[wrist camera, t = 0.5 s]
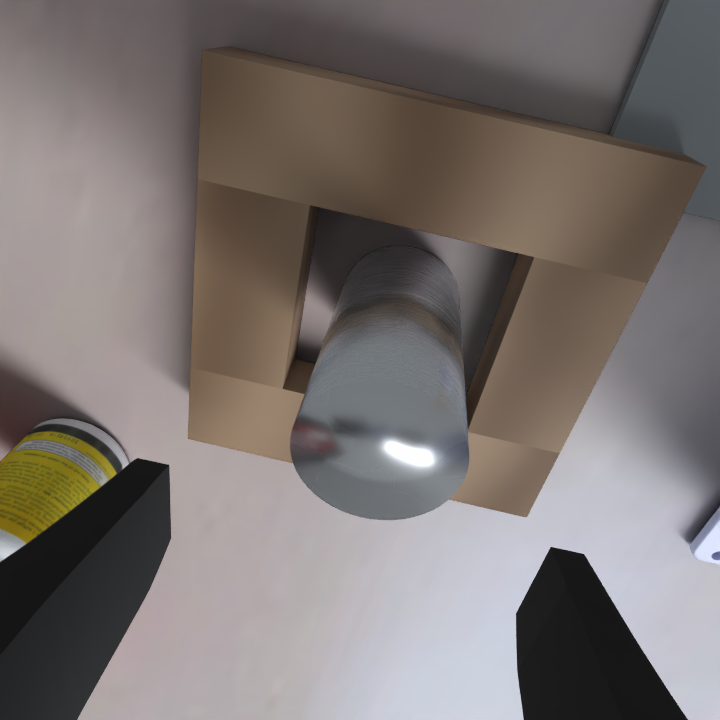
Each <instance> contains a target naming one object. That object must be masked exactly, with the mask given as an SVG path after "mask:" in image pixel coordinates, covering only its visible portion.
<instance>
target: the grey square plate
mask: <svg viewBox="0 0 720 720" xmlns="http://www.w3.org/2000/svg"><path fill="white" fill-rule="evenodd" d="M609 135H610V136H612V137H614V138H618V139H623V140H627V141H631V142H636V143H640V144H644V145H649V146H653V147H657V148H662V149H666V150H670V151H675V152H679V153H683V154H685V155H687V156H689V157H691V158H692V159H694V160H696V161H698V162H699V163H701V164H703V165H705V166H706V167H707V168H706V170H705V172H704V174H703V175H702V177H701V179H700V181H699V183H698V185H697V187H696V189H695V191H694V193H693V195H692V197H691V199H690V201H689V203H688V205H687V207H686V209H685V210H684V213H688V214H692V215H697V216H701V217H705V218H710V219H714V220H718V221H720V0H664V2H663V4H662V7H661V9H660V11H659V14H658V16H657V19H656V21H655V24H654V26H653V29H652V31H651V33H650V36H649V38H648V41H647V43H646V46H645V48H644V51H643V53H642V55H641V58H640V60H639V63H638V65H637V68H636V70H635V72H634V75H633V77H632V80H631V82H630V85H629V87H628V90H627V92H626V94H625V97H624V99H623V102H622V104H621V107H620V109H619V111H618V114H617V116H616V119H615V121H614V124H613V126H612V129H611V131H610V133H609Z"/></svg>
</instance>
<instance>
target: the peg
mask: <svg viewBox="0 0 720 720" xmlns="http://www.w3.org/2000/svg"><path fill="white" fill-rule="evenodd" d="M290 452H291V457H292V461H293V464H294V466H295V469H296V471H297V473H298V474H299V476H300V478H301V479H302V481H303V482H304V483H305V484H306V486H307V487H308V488H309V489H310V490H311V491H312V492H313V493H314V494H315V495H317V496H318V497H319V498H320V499H322V500H323V501H325V502H326V503H328V504H330V505H331V506H333V507H335V508H337V509H339V510H341V511H344V512H346V513H349V514H352V515H356V516H359V517H364V518H369V519H378V520H397V519H406V518H411V517H415V516H418V515H422V514H425V513H427V512H429V511H431V510H434V509H435V508H437V507H439V506H440V505H442V504H443V503H445V502H446V501H447V500H449V499H450V498H451V497H452V496H453V495H454V494H455V493H456V492H457V490H458V489H459V487H460V486H461V485H462V483H463V481H464V479H465V477H466V474H467V471H468V467H469V440H468V425H467V410H466V394H465V379H464V363H463V348H462V332H461V317H460V302H459V291H458V287H457V284H456V281H455V279H454V277H453V275H452V273H451V272H450V270H449V269H448V268H447V267H446V265H445V264H444V263H443V262H442V261H440V260H439V259H438V258H437V257H435V256H434V255H432V254H430V253H428V252H426V251H424V250H421V249H418V248H415V247H409V246H390V247H385V248H381V249H378V250H376V251H373V252H372V253H370V254H368V255H366V256H365V257H363V258H362V259H361V260H360V261H359V262H358V263H356V265H355V266H354V267H353V268H352V270H351V271H350V273H349V274H348V276H347V279H346V281H345V284H344V286H343V289H342V292H341V295H340V297H339V300H338V303H337V306H336V309H335V311H334V314H333V317H332V320H331V322H330V325H329V328H328V331H327V334H326V336H325V339H324V342H323V345H322V347H321V350H320V353H319V356H318V358H317V361H316V364H315V367H314V370H313V372H312V375H311V378H310V381H309V383H308V386H307V389H306V392H305V394H304V397H303V400H302V403H301V406H300V408H299V411H298V414H297V417H296V419H295V422H294V425H293V428H292V432H291V436H290Z"/></svg>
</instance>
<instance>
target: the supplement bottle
mask: <svg viewBox="0 0 720 720" xmlns="http://www.w3.org/2000/svg"><path fill="white" fill-rule="evenodd" d="M128 464H129V462H128V459H127V457H126V455H125V453H124V452H123V450H122V448H121V447H120V446H119V445H118V443H117V442H116V441H115V440H114V439H113V438H112V437H110V436H109V435H108V434H107V433H105V432H104V431H102V430H101V429H99V428H97V427H95V426H93V425H91V424H89V423H86V422H83V421H79V420H74V419H65V418H62V419H52V420H48V421H45V422H42V423H40V424H39V425H37V426H36V427H34V428H33V429H32V430H31V431H30V432H29V433H28V434H27V435H26V436H25V437H24V438H23V439H22V440H21V441H20V442H19V443H18V444H17V445H16V446H15V447H14V448H13V449H12V450H11V451H10V452H9V453H8V454H7V455H6V456H5V457H4V458H3V459H2V460H1V461H0V562H1V561H2V560H4V559H5V558H7V557H8V556H9V555H11V554H12V553H14V552H15V551H17V550H18V549H20V548H21V547H22V546H24V545H25V544H27V543H28V542H29V541H31V540H32V539H33V538H35V537H36V536H37V535H39V534H40V533H41V532H43V531H44V530H45V529H47V528H48V527H49V526H51V525H52V524H53V523H55V522H56V521H57V520H59V519H60V518H61V517H63V516H64V515H65V514H67V513H68V512H69V511H71V510H72V509H73V508H75V507H76V506H77V505H78V504H80V503H81V502H82V501H83V500H85V499H86V498H87V497H89V496H90V495H91V494H92V493H94V492H95V491H96V490H97V489H99V488H100V487H101V486H102V485H104V484H105V483H106V482H107V481H109V480H110V479H111V478H112V477H113V476H115V475H116V474H117V473H118V472H120V471H121V470H122V469H123V468H125V467H126V466H127V465H128Z"/></svg>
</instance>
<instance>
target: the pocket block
mask: <svg viewBox="0 0 720 720" xmlns="http://www.w3.org/2000/svg"><path fill="white" fill-rule="evenodd" d="M706 168H707V167H706V166H705V165H703V164H701V163H699V162H698V161H696V160H694V159H692V158H691V157H689V156H687V155H685V154H683V153H679V152H675V151H670V150H666V149H662V148H657V147H653V146H649V145H644V144H640V143H636V142H631V141H627V140H623V139H618V138H614V137H612V136H610V135H609V134H604V133H600V132H596V131H591V130H587V129H583V128H578V127H574V126H570V125H565V124H561V123H557V122H552V121H548V120H544V119H539V118H535V117H531V116H526V115H522V114H518V113H513V112H509V111H505V110H500V109H496V108H492V107H487V106H483V105H479V104H474V103H470V102H466V101H461V100H457V99H453V98H448V97H444V96H440V95H435V94H431V93H427V92H422V91H418V90H414V89H409V88H405V87H401V86H396V85H392V84H388V83H384V82H379V81H375V80H371V79H366V78H362V77H358V76H353V75H349V74H345V73H340V72H336V71H332V70H327V69H323V68H319V67H314V66H310V65H306V64H301V63H297V62H293V61H288V60H284V59H280V58H275V57H271V56H267V55H262V54H258V53H254V52H249V51H245V50H241V49H236V48H232V47H221V48H214V49H207V50H202V69H201V96H200V123H199V150H198V177H197V204H196V231H195V258H194V285H193V312H192V339H191V366H190V393H189V420H188V439H191V440H195V441H200V442H204V443H208V444H213V445H217V446H221V447H226V448H230V449H234V450H238V451H243V452H247V453H251V454H256V455H260V456H264V457H269V458H273V459H277V460H281V461H286V462H290V463H293V461H292V457H291V452H290V436H291V432H292V428H293V425H294V422H295V419H296V417H297V414H298V411H299V408H300V406H301V403H302V400H303V397H304V394H305V392H306V389H307V386H308V383H309V381H310V378H311V375H312V372H313V370H314V367H315V363H311V362H306V361H302V360H298V359H295V358H296V352H297V346H298V339H299V333H300V326H301V320H302V314H303V307H304V301H305V295H306V288H307V282H308V275H309V269H310V263H311V256H312V250H313V243H314V237H315V231H316V224H317V218H318V212H319V207H320V208H325V209H329V210H333V211H338V212H342V213H346V214H351V215H355V216H359V217H363V218H368V219H372V220H376V221H381V222H385V223H389V224H394V225H398V226H402V227H407V228H411V229H415V230H420V231H424V232H428V233H433V234H437V235H441V236H446V237H450V238H454V239H458V240H463V241H467V242H471V243H476V244H480V245H484V246H489V247H493V248H497V249H502V250H506V251H510V252H515V253H518V256H517V258H516V261H515V264H514V267H513V269H512V272H511V275H510V277H509V280H508V283H507V286H506V288H505V291H504V294H503V297H502V299H501V302H500V305H499V307H498V310H497V313H496V316H495V318H494V321H493V324H492V326H491V329H490V332H489V335H488V337H487V340H486V343H485V346H484V348H483V351H482V354H481V356H480V359H479V362H478V365H477V367H476V370H475V373H474V375H473V378H472V381H471V384H470V386H469V389H468V392H467V395H466V410H467V425H468V440H469V467H468V471H467V474H466V477H465V479H464V481H463V483H462V485H461V486H460V487H459V489H458V490H457V492H456V493H455V494H454V495H453V496H452V497H451V498H450V499H449V500H453V501H458V502H462V503H466V504H471V505H475V506H479V507H484V508H488V509H492V510H496V511H501V512H505V513H509V514H514V515H518V516H522V517H527V516H528V514H529V512H530V510H531V508H532V506H533V504H534V502H535V500H536V498H537V496H538V494H539V492H540V490H541V489H542V487H543V485H544V483H545V481H546V479H547V477H548V475H549V473H550V471H551V469H552V467H553V465H554V463H555V461H556V459H557V457H558V455H559V454H560V452H561V450H562V448H563V446H564V444H565V442H566V440H567V438H568V436H569V434H570V432H571V430H572V428H573V426H574V424H575V422H576V420H577V419H578V417H579V415H580V413H581V411H582V409H583V407H584V405H585V403H586V401H587V399H588V397H589V395H590V393H591V391H592V389H593V387H594V385H595V384H596V382H597V380H598V378H599V376H600V374H601V372H602V370H603V368H604V366H605V364H606V362H607V360H608V358H609V356H610V354H611V352H612V350H613V349H614V347H615V345H616V343H617V341H618V339H619V337H620V335H621V333H622V331H623V329H624V327H625V325H626V323H627V321H628V319H629V317H630V315H631V314H632V312H633V310H634V308H635V306H636V304H637V302H638V300H639V298H640V296H641V294H642V292H643V290H644V288H645V286H646V284H647V282H648V280H649V279H650V277H651V275H652V273H653V271H654V269H655V267H656V265H657V263H658V261H659V259H660V257H661V255H662V253H663V251H664V249H665V247H666V245H667V244H668V242H669V240H670V238H671V236H672V234H673V232H674V230H675V228H676V226H677V224H678V222H679V220H680V218H681V216H682V214H683V212H684V210H685V209H686V207H687V205H688V203H689V201H690V199H691V197H692V195H693V193H694V191H695V189H696V187H697V185H698V183H699V181H700V179H701V177H702V175H703V174H704V172H705V170H706Z"/></svg>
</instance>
